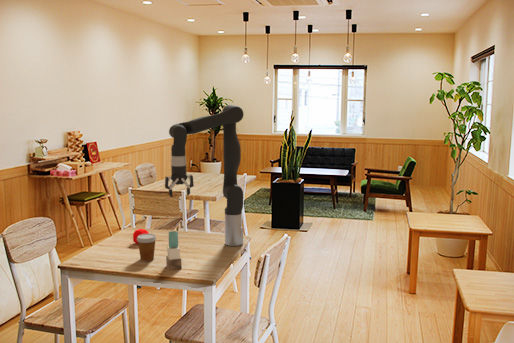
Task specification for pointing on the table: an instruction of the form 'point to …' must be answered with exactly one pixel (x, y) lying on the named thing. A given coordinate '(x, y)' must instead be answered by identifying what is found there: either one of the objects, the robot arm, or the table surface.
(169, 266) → the walnut base block
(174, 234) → the teal capsule
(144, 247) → the disposable coffee cup
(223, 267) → the table surface
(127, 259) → the table surface
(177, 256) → the cream block
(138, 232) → the red faceted polyhedron
